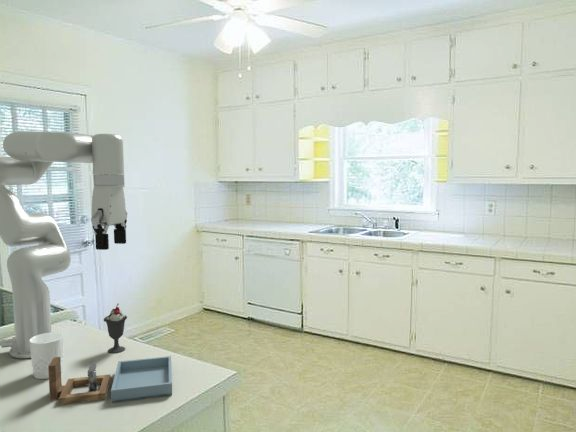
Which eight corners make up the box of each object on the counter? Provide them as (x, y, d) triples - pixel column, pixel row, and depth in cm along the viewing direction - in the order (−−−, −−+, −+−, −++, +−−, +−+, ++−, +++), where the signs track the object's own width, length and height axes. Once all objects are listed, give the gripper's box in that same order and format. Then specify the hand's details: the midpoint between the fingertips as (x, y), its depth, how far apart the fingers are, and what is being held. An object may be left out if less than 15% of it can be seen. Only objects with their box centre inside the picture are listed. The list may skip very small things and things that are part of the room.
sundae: (120, 355, 128) (118, 306, 127) (100, 353, 130) (98, 304, 128) (132, 346, 135) (131, 299, 133) (113, 344, 136) (111, 298, 135)
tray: (111, 402, 102) (111, 390, 102) (118, 372, 118) (118, 361, 117) (172, 395, 106) (171, 383, 105) (171, 366, 121) (171, 356, 121)
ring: (47, 406, 100) (45, 370, 99) (57, 385, 110) (56, 353, 109) (105, 398, 104) (104, 364, 103) (110, 379, 113) (109, 348, 112)
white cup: (71, 369, 119) (69, 334, 118) (46, 382, 111) (45, 345, 110) (49, 365, 121) (47, 330, 120) (24, 377, 114) (22, 341, 113)
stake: (87, 396, 105) (86, 371, 104) (90, 386, 110) (89, 362, 109) (95, 395, 105) (94, 370, 105) (98, 385, 110) (97, 362, 109)
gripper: (111, 181, 123) (113, 241, 124) (76, 182, 105) (80, 251, 107) (137, 181, 122) (139, 241, 123) (106, 182, 105) (109, 252, 106)
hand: (111, 246), depth 115 cm, fingers open, 9 cm apart
